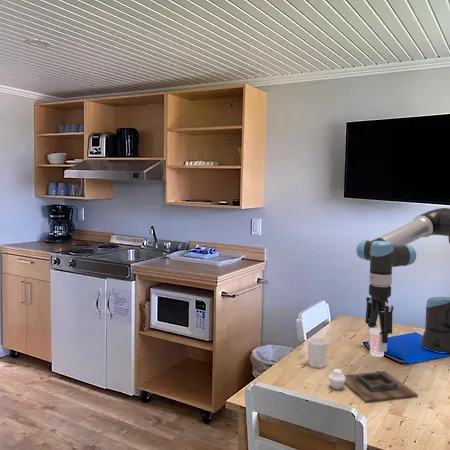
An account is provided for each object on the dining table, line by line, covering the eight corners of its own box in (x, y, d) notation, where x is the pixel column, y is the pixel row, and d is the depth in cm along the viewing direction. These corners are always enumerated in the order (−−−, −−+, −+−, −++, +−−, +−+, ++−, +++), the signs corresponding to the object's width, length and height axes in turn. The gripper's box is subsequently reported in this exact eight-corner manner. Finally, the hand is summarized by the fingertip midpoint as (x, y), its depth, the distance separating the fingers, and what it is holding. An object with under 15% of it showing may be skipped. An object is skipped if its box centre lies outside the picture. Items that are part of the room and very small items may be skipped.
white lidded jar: (342, 392, 164) (343, 373, 163) (325, 388, 167) (326, 369, 167) (347, 386, 169) (348, 367, 169) (331, 382, 173) (332, 364, 172)
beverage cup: (377, 359, 163) (378, 320, 162) (364, 353, 169) (366, 315, 168) (389, 356, 166) (391, 318, 165) (376, 350, 172) (378, 313, 170)
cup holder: (384, 373, 181) (385, 366, 181) (417, 396, 161) (417, 388, 161) (337, 378, 176) (338, 370, 176) (365, 402, 157) (366, 394, 156)
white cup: (328, 362, 192) (328, 339, 191) (325, 369, 184) (326, 345, 183) (308, 360, 194) (309, 336, 193) (305, 367, 187) (306, 342, 186)
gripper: (356, 279, 174) (354, 339, 176) (386, 291, 155) (383, 358, 157) (374, 278, 175) (372, 338, 177) (405, 290, 157) (402, 356, 159)
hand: (377, 347), depth 167 cm, fingers closed on beverage cup, 6 cm apart
